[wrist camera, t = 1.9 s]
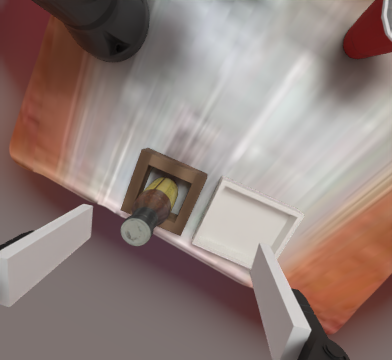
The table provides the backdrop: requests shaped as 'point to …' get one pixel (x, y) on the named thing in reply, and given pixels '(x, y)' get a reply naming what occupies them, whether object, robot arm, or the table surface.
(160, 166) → the walnut holder
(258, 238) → the plastic tray
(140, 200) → the sauce bottle
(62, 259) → the robot arm
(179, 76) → the table surface
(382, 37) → the plastic cup
